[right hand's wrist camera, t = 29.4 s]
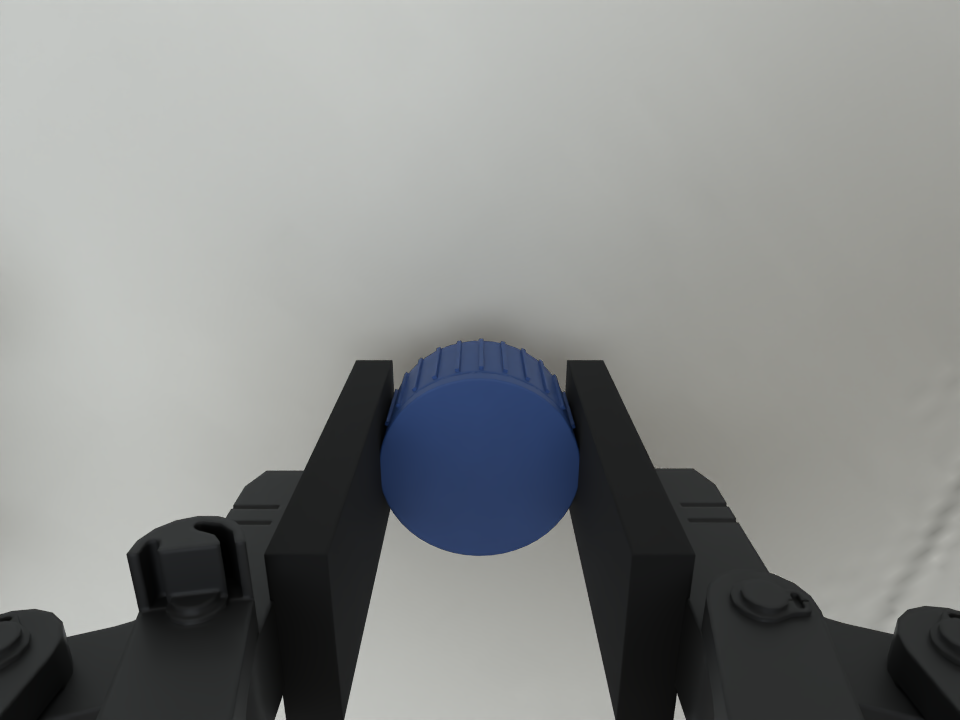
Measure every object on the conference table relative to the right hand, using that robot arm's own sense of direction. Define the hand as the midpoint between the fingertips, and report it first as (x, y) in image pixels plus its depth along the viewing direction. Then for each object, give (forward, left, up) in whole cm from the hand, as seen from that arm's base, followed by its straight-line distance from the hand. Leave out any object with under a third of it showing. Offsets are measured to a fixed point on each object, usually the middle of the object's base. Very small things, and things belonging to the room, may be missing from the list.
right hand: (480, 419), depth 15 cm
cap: (0, 0, +2) cm, 2 cm away
